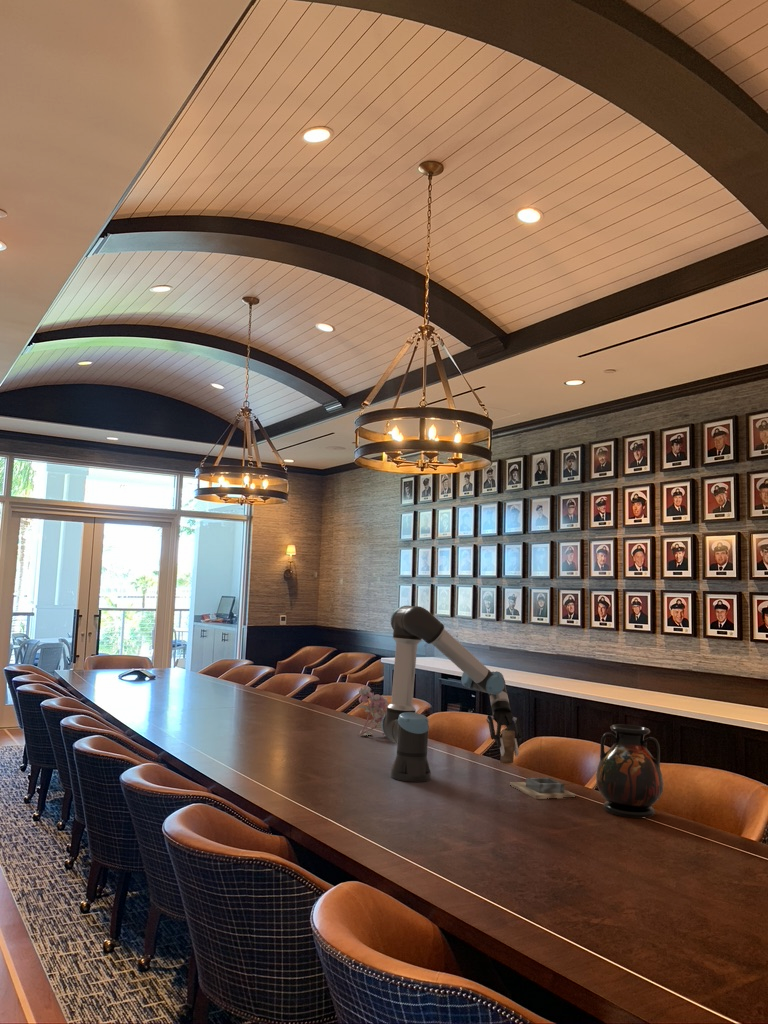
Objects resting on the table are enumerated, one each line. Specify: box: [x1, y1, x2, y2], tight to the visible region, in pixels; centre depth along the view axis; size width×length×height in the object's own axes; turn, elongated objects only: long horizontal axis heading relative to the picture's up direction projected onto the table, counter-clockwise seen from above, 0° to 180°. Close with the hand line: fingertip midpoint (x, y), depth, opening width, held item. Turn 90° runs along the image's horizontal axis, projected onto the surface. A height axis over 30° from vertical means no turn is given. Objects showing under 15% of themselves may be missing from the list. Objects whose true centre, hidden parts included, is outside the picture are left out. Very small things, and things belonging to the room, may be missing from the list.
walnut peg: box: [500, 729, 516, 765], centre depth 304 cm, size 5×5×12 cm
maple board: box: [509, 777, 577, 800], centre depth 284 cm, size 16×20×4 cm
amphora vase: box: [595, 723, 664, 819], centre depth 261 cm, size 22×22×28 cm
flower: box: [356, 685, 389, 737], centre depth 384 cm, size 20×22×25 cm
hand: (510, 754), depth 300 cm, fingers closed on walnut peg, 5 cm apart
